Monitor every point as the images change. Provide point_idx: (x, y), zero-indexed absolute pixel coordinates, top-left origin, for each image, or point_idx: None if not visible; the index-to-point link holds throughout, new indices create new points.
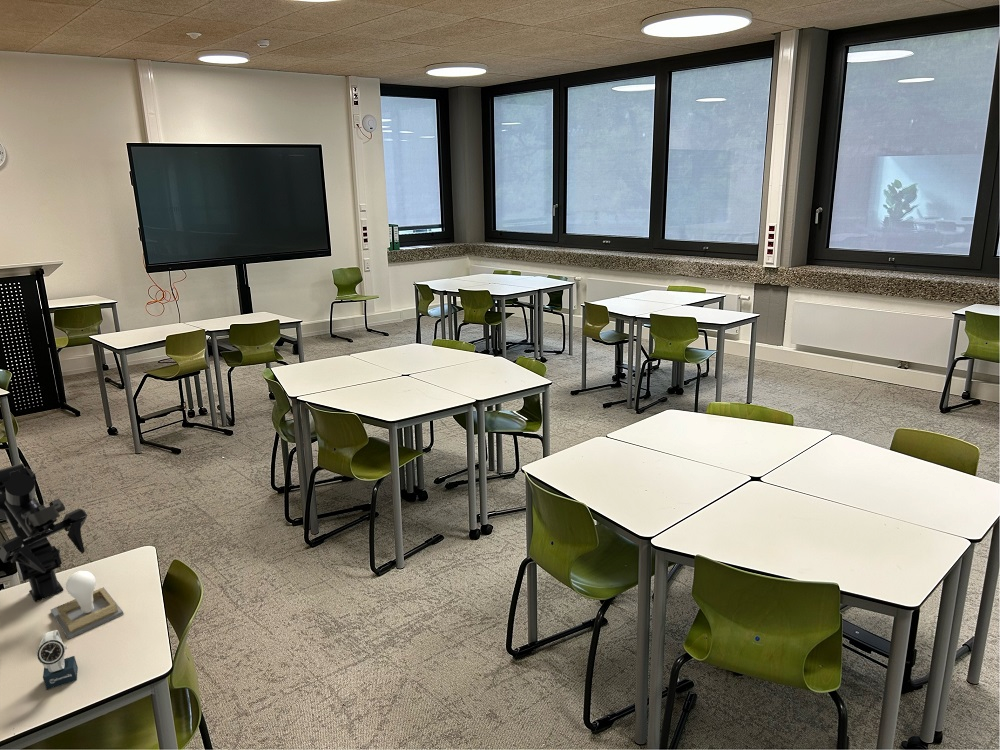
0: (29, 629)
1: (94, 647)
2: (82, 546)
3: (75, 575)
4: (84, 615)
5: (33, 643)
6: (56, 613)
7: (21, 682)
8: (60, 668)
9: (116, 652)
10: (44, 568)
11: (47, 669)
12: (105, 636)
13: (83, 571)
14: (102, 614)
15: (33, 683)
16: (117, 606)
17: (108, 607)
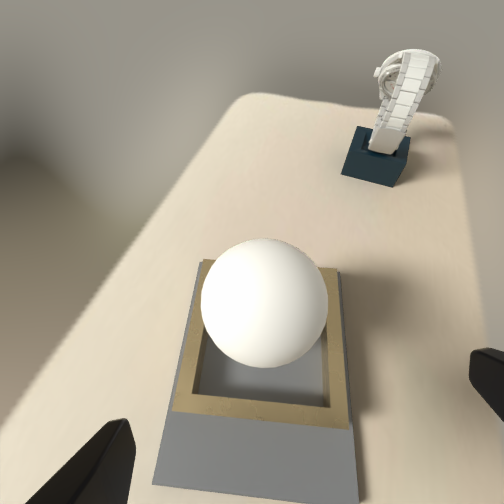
0: (434, 443)
1: (299, 203)
2: (77, 459)
3: (282, 263)
4: None
5: (420, 337)
6: (344, 444)
7: (442, 209)
8: (382, 114)
9: (273, 163)
10: (493, 358)
11: (401, 150)
12: (269, 219)
13: (235, 275)
14: None
15: (419, 191)
16: (195, 295)
17: None
